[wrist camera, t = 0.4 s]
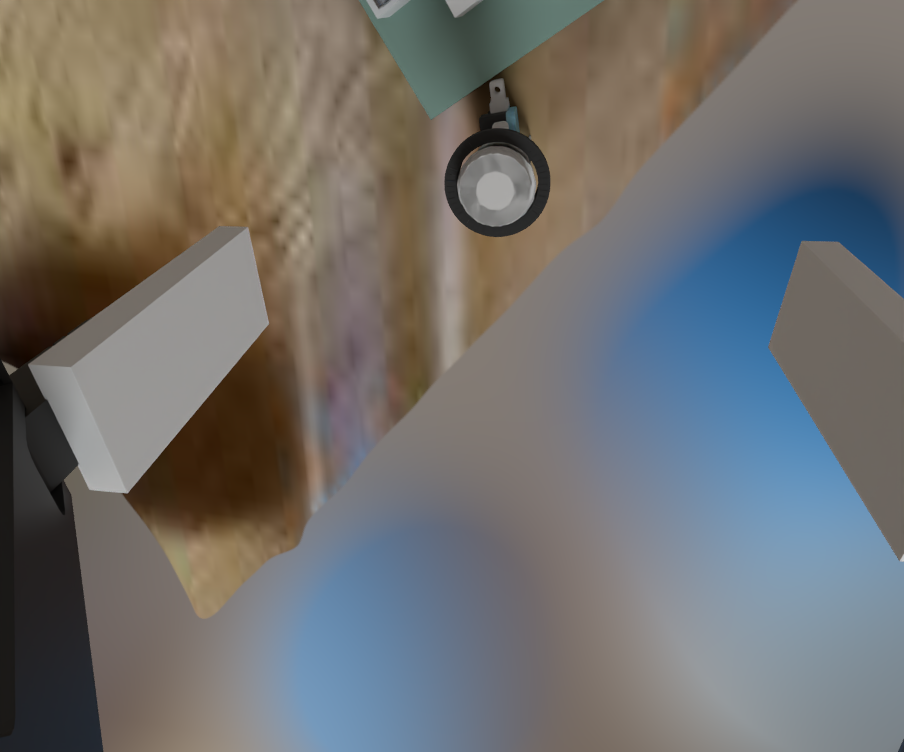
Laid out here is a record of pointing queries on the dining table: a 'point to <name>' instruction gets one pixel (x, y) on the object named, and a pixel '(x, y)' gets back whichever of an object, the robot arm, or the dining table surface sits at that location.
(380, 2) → the strap
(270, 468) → the dining table surface
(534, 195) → the push button
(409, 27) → the board
